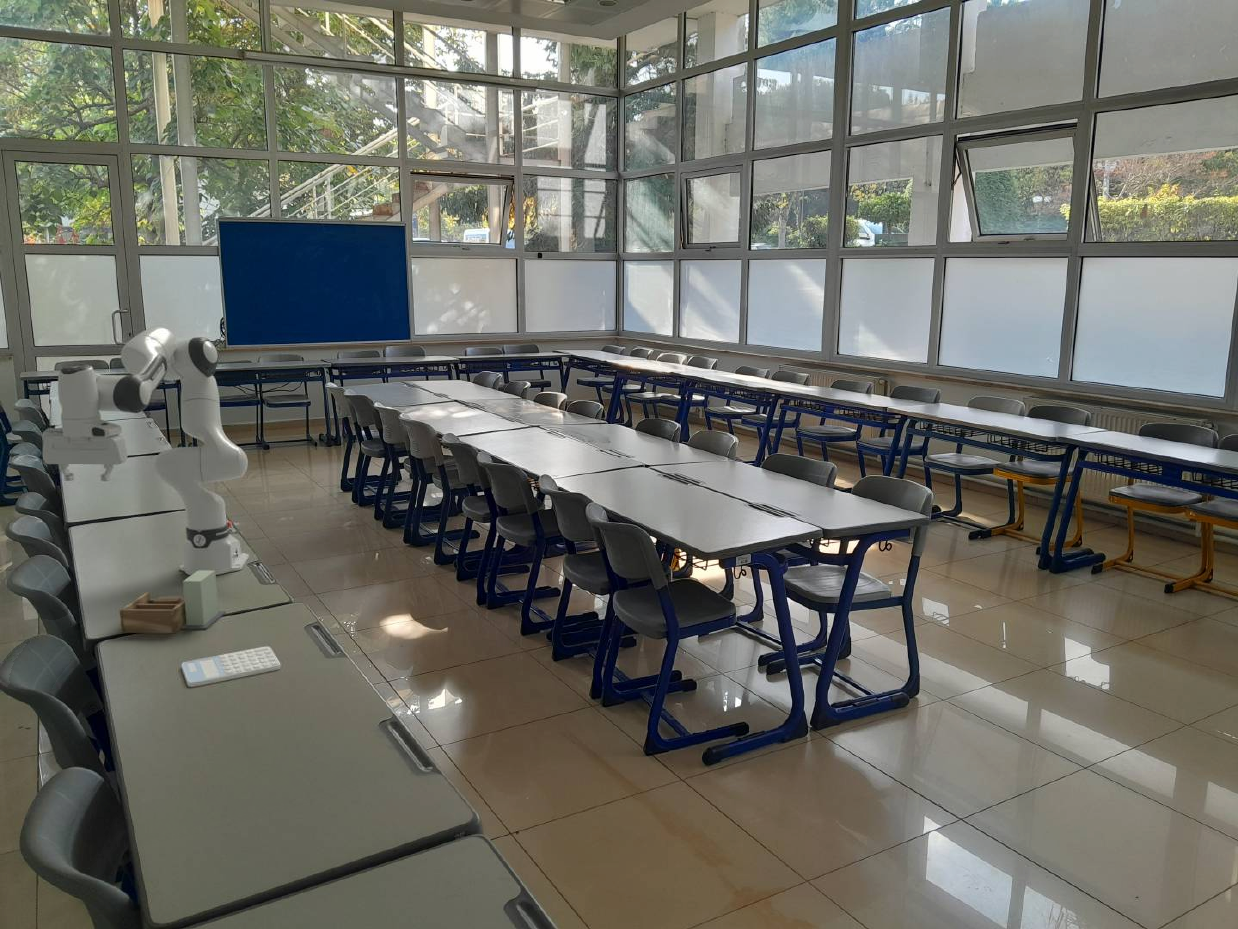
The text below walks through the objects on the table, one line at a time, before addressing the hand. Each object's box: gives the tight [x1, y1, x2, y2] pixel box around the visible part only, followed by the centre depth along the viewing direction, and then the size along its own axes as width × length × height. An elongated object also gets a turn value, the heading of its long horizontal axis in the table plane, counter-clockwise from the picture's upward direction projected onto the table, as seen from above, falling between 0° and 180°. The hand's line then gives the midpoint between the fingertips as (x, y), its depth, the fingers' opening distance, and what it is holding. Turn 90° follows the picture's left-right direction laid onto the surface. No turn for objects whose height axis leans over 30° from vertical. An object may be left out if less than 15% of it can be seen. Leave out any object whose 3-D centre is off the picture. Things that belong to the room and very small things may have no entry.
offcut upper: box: [153, 596, 183, 604], centre depth 244 cm, size 4×6×2 cm, turn 97°
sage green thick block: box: [182, 570, 219, 625], centre depth 241 cm, size 4×9×12 cm, turn 1°
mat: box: [180, 610, 226, 631], centre depth 242 cm, size 12×7×1 cm, turn 1°
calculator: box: [180, 646, 282, 688], centre depth 213 cm, size 13×20×2 cm, turn 122°
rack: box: [119, 591, 186, 634], centre depth 240 cm, size 14×14×6 cm
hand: (87, 480), depth 238 cm, fingers open, 8 cm apart
